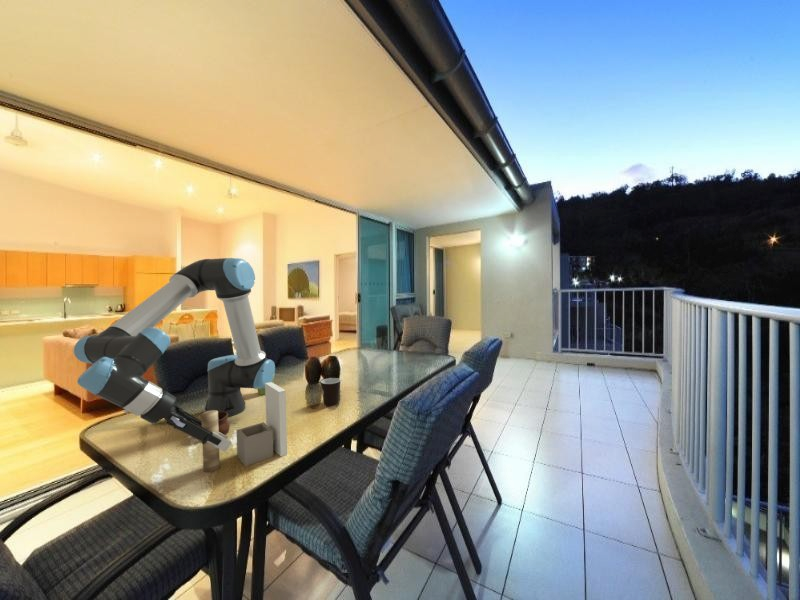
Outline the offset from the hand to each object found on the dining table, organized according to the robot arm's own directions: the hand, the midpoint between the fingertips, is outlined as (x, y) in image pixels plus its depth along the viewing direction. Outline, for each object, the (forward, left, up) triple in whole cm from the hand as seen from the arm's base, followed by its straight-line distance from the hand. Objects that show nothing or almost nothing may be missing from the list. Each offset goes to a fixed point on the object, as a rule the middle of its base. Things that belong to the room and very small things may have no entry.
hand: (225, 443), depth 90 cm
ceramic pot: (-16, +18, -6) cm, 25 cm away
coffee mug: (+16, +50, -6) cm, 53 cm away
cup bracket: (+8, +6, -6) cm, 11 cm away
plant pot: (-21, +60, -6) cm, 64 cm away
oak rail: (-3, -3, -6) cm, 7 cm away
